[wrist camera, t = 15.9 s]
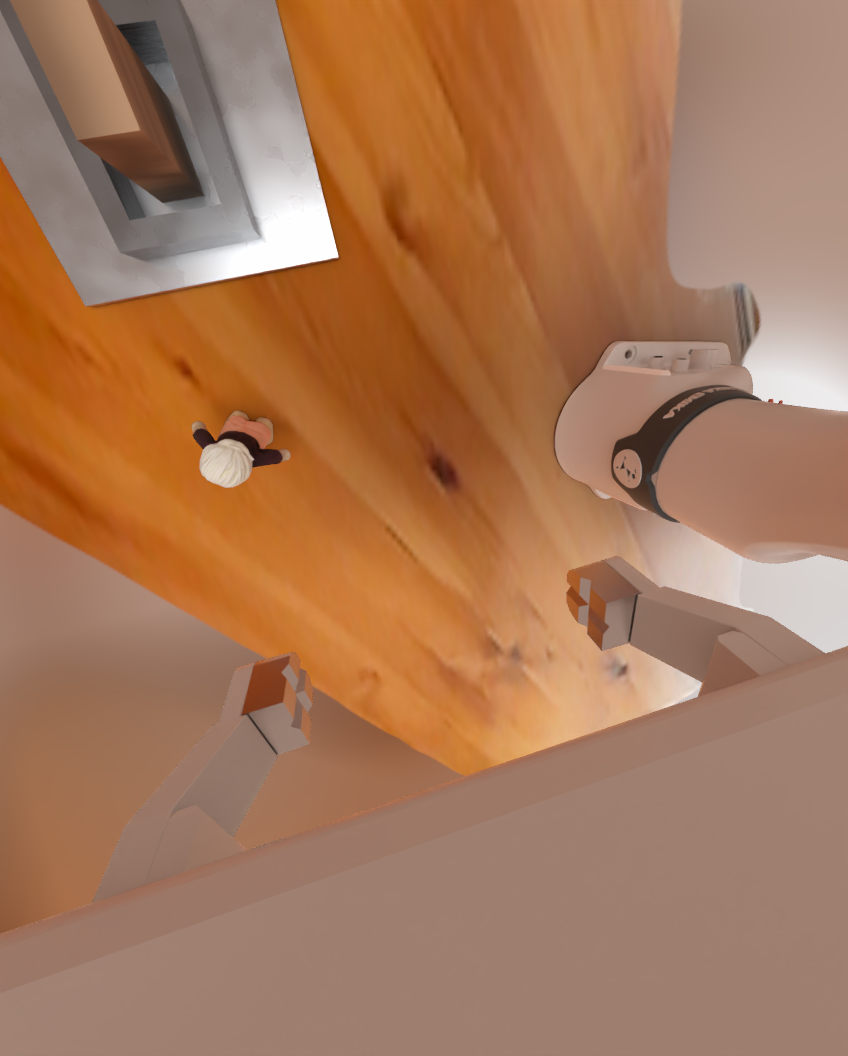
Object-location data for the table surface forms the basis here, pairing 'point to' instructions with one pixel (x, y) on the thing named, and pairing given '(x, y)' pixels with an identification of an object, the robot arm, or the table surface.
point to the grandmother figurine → (236, 449)
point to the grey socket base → (213, 145)
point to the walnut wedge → (109, 95)
